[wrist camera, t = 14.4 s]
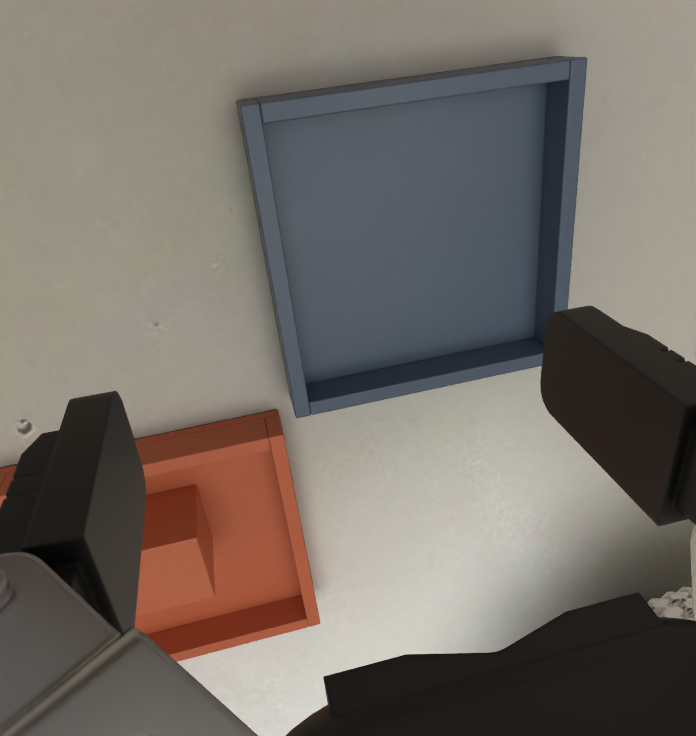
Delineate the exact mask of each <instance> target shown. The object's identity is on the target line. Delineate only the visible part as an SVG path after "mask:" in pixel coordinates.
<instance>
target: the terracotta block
mask: <svg viewBox="0 0 696 736" xmlns="http://www.w3.org/2000/svg"><path fill="white" fill-rule="evenodd" d="M214 596H215V582H214V557H213V539H212V535H211V532H210V529H209V525H208V522H207V518H206V515H205V512H204V508H203V505H202V502H201V498H200V495H199V492H198V488H197V485H191V486H187V487H182V488H178V489H173V490H169V491H164V492H160V493H156V494H151V495H147V496H146V506H145V518H144V529H143V540H142V551H141V562H140V574H139V585H138V596H137V607H136V616H138V615H142V614H146V613H150V612H154V611H158V610H162V609H166V608H170V607H174V606H178V605H182V604H186V603H190V602H194V601H198V600H202V599H206V598H210V597H214Z"/></svg>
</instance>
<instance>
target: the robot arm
mask: <svg viewBox="0 0 696 736" xmlns="http://www.w3.org/2000/svg"><path fill="white" fill-rule="evenodd" d="M541 394H542V398H543V401H544V404H545V406H546V408H547V410H548V412H549V413H550V414H551V415H552V416H553V417H554V418H555V419H556V420H557V422H558V423H559V424H560V425H561V426H562V427H563V428H564V429H565V430H566V431H567V432H568V433H569V434H570V435H571V436H572V437H573V438H574V439H575V440H576V441H577V442H578V443H579V444H580V445H581V446H582V447H583V449H584V450H585V451H586V452H587V453H588V454H589V455H590V456H591V457H592V458H593V459H594V460H595V461H596V462H597V463H598V464H599V465H600V466H601V467H602V468H603V469H604V470H605V471H606V472H607V473H608V475H609V476H610V477H611V478H612V479H613V480H614V481H615V482H616V483H617V484H618V485H619V486H620V487H621V488H622V489H623V490H624V491H625V492H626V493H627V494H628V495H629V496H630V497H631V498H632V499H633V500H634V502H635V503H636V504H637V505H638V506H639V507H640V508H641V509H642V510H643V511H644V512H645V513H646V514H647V515H648V516H649V517H650V518H651V519H652V520H653V521H654V522H655V523H656V524H657V525H658V526H662V525H666V524H670V523H674V522H678V521H682V520H686V519H690V520H691V521H692V522H693V523H694V527H693V530H692V534H691V538H690V552H691V575H692V599H693V620H689V619H681V618H669V617H658V616H657V615H656V613H655V612H654V611H653V610H652V608H651V607H650V606H649V605H648V603H647V602H646V601H645V600H644V599H643V597H642V596H641V595H640V594H639V592H638V593H634V594H631V595H627V596H623V597H619V598H616V599H612V600H608V601H604V602H601V603H597V604H593V605H589V606H586V607H582V608H578V609H575V610H571V611H567V612H565V613H563V614H562V615H560V616H558V617H557V618H555V619H553V620H551V621H550V622H548V623H546V624H545V625H543V626H541V627H540V628H538V629H536V630H535V631H533V632H531V633H530V634H528V635H526V636H525V637H523V638H521V639H520V640H518V641H516V642H515V643H513V644H511V645H510V646H508V647H506V648H505V649H502V650H500V651H497V652H491V653H458V654H413V655H403V656H399V657H395V658H392V659H388V660H384V661H380V662H377V663H373V664H369V665H366V666H362V667H358V668H354V669H351V670H347V671H343V672H339V673H336V674H332V675H328V676H324V683H325V689H326V695H327V701H328V705H327V706H325V707H323V708H322V709H320V710H318V711H317V712H315V713H313V714H312V715H310V716H309V717H308V718H306V719H305V720H304V721H303V722H301V723H300V724H299V725H297V726H296V727H295V728H293V729H292V730H291V731H290V732H289V733H288V734H287V735H286V736H696V365H694V364H693V363H691V362H689V361H687V362H685V358H683V357H682V356H680V355H679V354H677V353H676V352H674V351H672V350H670V351H669V350H668V347H666V346H665V345H663V344H662V343H660V342H659V341H657V340H655V339H654V338H652V337H651V336H649V335H648V334H645V333H642V332H639V331H636V330H633V329H630V328H627V327H625V326H622V325H621V324H619V323H618V322H616V321H615V320H613V319H612V318H610V317H609V316H607V315H606V314H604V313H603V312H601V311H600V310H598V309H597V308H595V307H593V306H585V307H579V308H574V309H568V310H563V311H557V312H553V313H551V314H550V315H549V317H548V319H547V321H546V326H545V337H544V348H543V360H542V371H541ZM13 479H14V480H12V481H11V482H10V485H9V487H8V490H7V492H6V499H4V500H3V503H2V505H1V508H0V736H258V735H257V734H256V733H254V732H253V731H252V730H251V729H250V728H249V727H248V726H247V725H246V724H245V723H243V722H242V721H241V720H240V719H239V718H238V717H237V716H236V715H235V714H233V713H232V712H231V711H230V710H229V709H228V708H227V707H226V706H225V705H224V704H222V703H221V702H220V701H219V700H218V699H217V698H216V697H215V696H214V695H212V694H211V693H210V692H209V691H208V690H207V689H206V688H205V687H204V686H203V685H201V684H200V683H199V682H198V681H197V680H196V679H195V678H194V677H193V676H191V675H190V674H189V673H188V672H187V671H186V670H185V669H184V668H183V667H181V666H180V665H179V664H178V663H177V662H176V661H175V660H174V659H173V658H172V657H170V656H169V655H168V654H167V653H166V652H165V651H164V650H163V649H162V648H160V647H159V646H158V645H157V644H156V643H155V642H154V641H153V640H152V639H151V638H149V637H148V636H147V635H146V634H145V633H143V632H142V631H140V630H139V629H137V628H135V619H136V607H137V596H138V585H139V574H140V562H141V551H142V540H143V529H144V518H145V506H146V482H145V476H144V470H143V466H142V462H141V459H140V456H139V453H138V450H137V446H136V443H135V440H134V437H133V434H132V431H131V427H130V424H129V421H128V418H127V415H126V412H125V408H124V405H123V402H122V400H121V397H120V395H119V394H118V392H116V391H112V392H107V393H101V394H96V395H90V396H85V397H79V398H74V399H70V401H69V403H68V405H67V408H66V412H65V415H64V418H63V421H62V424H61V427H60V430H58V431H53V432H48V433H43V434H41V435H40V436H39V437H38V438H37V439H36V440H35V441H34V442H33V443H32V444H31V445H30V446H29V447H28V449H27V450H26V451H25V452H24V453H23V454H22V455H21V457H20V460H19V462H18V465H17V467H16V470H15V472H14V475H13Z"/></svg>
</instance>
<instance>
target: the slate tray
mask: <svg viewBox="0 0 696 736" xmlns="http://www.w3.org/2000/svg"><path fill="white" fill-rule="evenodd" d="M586 68H587V58H586V57H565V56H563V57H562V56H554V57H547V58H540V59H532V60H525V61H518V62H511V63H503V64H496V65H489V66H482V67H474V68H467V69H460V70H453V71H445V72H438V73H431V74H424V75H416V76H409V77H402V78H395V79H387V80H380V81H373V82H366V83H358V84H351V85H344V86H337V87H329V88H322V89H315V90H308V91H300V92H293V93H286V94H279V95H271V96H264V97H257V98H250V99H242V100H237V101H236V104H237V109H238V115H239V120H240V126H241V131H242V136H243V142H244V147H245V153H246V158H247V164H248V169H249V175H250V180H251V186H252V191H253V197H254V202H255V208H256V213H257V219H258V224H259V230H260V235H261V241H262V246H263V252H264V257H265V263H266V268H267V274H268V279H269V285H270V290H271V296H272V301H273V307H274V312H275V317H276V323H277V328H278V334H279V339H280V345H281V350H282V356H283V361H284V367H285V372H286V378H287V383H288V389H289V394H290V398H291V401H292V405H293V409H294V412H295V416H296V418H300V417H305V416H309V415H314V414H318V413H323V412H328V411H332V410H337V409H342V408H346V407H351V406H356V405H360V404H365V403H370V402H374V401H379V400H384V399H388V398H393V397H398V396H402V395H407V394H412V393H416V392H421V391H426V390H430V389H435V388H440V387H444V386H449V385H454V384H458V383H463V382H468V381H472V380H477V379H482V378H486V377H491V376H496V375H500V374H505V373H510V372H514V371H519V370H524V369H528V368H533V367H538V366H542V360H543V348H544V337H545V326H546V321H547V319H548V317H549V315H550V314H551V313H553V312H557V311H563V310H568V297H569V284H570V272H571V259H572V246H573V233H574V221H575V208H576V195H577V182H578V170H579V157H580V144H581V132H582V119H583V106H584V93H585V81H586Z"/></svg>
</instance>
